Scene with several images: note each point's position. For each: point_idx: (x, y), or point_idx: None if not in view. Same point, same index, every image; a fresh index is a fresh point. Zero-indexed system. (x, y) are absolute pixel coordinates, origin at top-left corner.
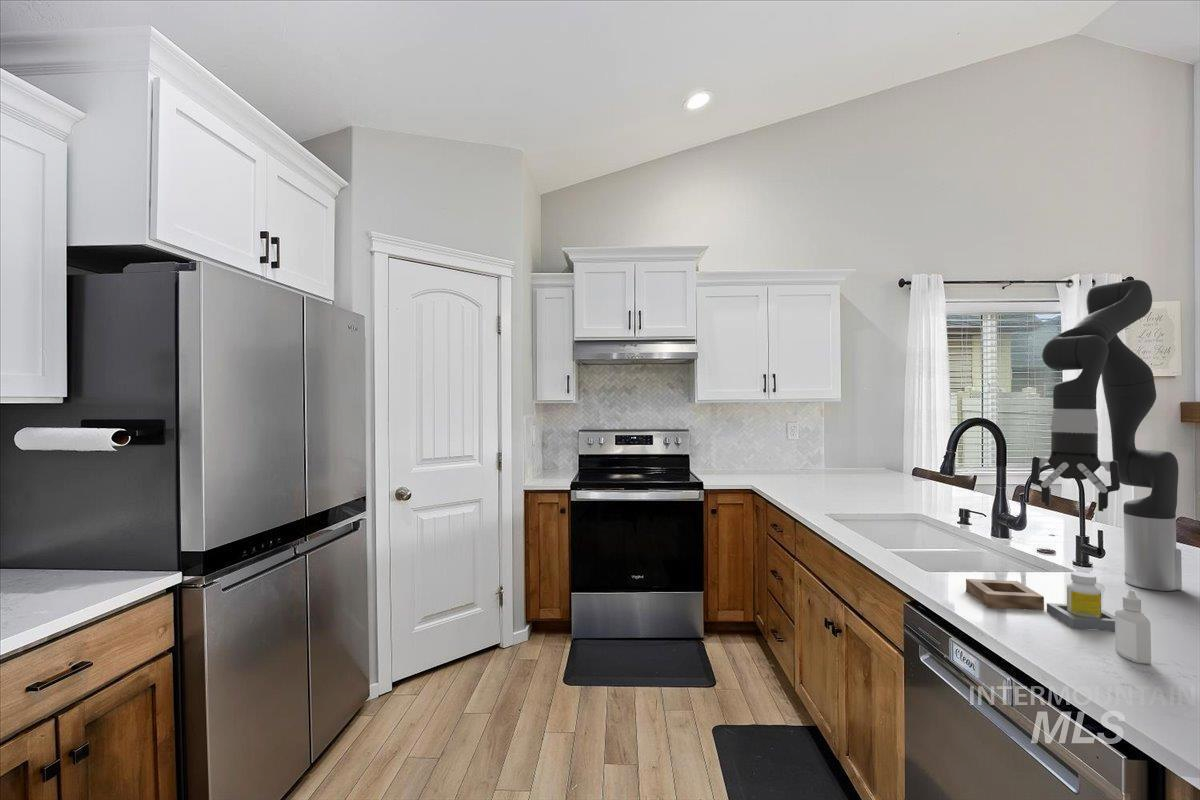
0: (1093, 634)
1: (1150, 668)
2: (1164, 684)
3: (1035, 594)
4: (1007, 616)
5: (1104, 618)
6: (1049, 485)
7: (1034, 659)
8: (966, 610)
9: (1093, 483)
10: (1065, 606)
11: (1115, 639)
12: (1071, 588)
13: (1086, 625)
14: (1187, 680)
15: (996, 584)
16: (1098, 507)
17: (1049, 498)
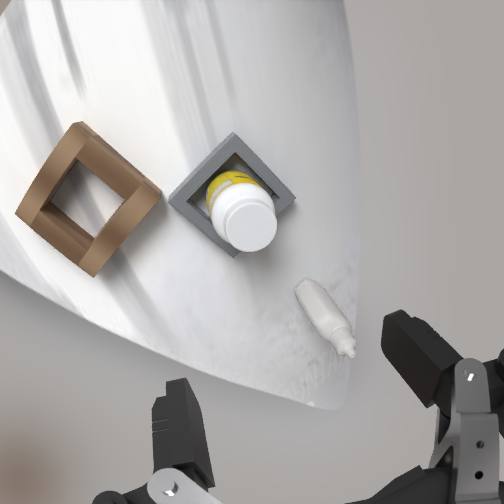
0: None
1: None
2: None
3: (142, 197)
4: (140, 279)
5: None
6: (196, 484)
7: (236, 380)
8: (93, 305)
9: (433, 458)
10: (198, 187)
11: (300, 302)
12: (228, 242)
13: None
14: (354, 308)
15: (57, 182)
16: (389, 360)
17: (203, 435)
